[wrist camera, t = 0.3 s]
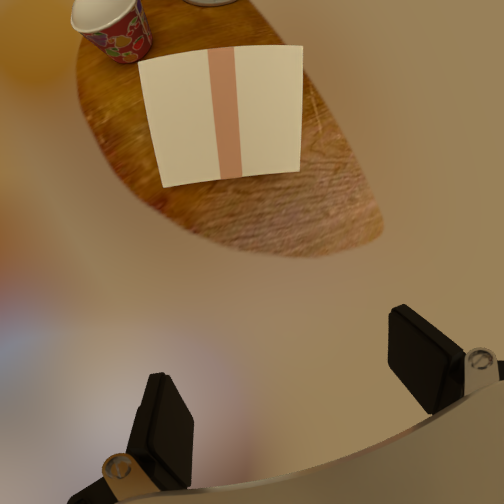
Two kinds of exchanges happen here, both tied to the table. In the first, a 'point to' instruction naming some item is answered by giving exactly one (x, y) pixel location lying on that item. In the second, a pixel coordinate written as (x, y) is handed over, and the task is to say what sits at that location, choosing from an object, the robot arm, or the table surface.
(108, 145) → the table surface
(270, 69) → the lid
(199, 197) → the table surface
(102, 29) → the smoothie
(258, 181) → the table surface
